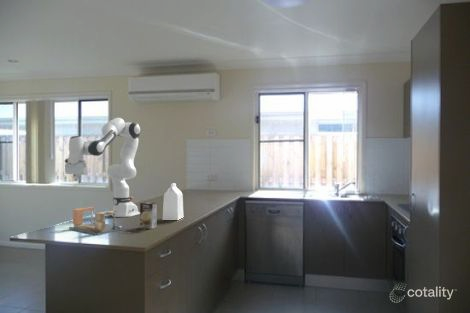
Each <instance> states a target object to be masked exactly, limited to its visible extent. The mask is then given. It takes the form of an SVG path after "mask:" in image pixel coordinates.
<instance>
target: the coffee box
mask: <svg viewBox="0 0 470 313" xmlns="http://www.w3.org/2000/svg"><path fill="white" fill-rule="evenodd" d="M139 204H140V205H139V212H140V214H139V228H141V229H149V230H150V229H155V228H157V223H158V222H157V217H158V216H157V213H158V212H157V211H158V209H157V208H158V207H157V206H158V203H157V202H151V201H143V202H140V203H139Z"/></svg>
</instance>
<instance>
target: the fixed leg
mask: <svg viewBox="0 0 470 313" xmlns="http://www.w3.org/2000/svg"><path fill="white" fill-rule="evenodd" d="M115 213H116V211H113V210H111V211H110V210H109V211H104V212H96V213H95V214H94V221H95V227H92V226H87V225H85V224H79V225H75V224H73V227H77V228H82V229H87V230H92V231H97V232H104V229H105V224H106V216H108V215H112V214H113V216H112V219H113V220H112V225H113V228H115V226H116V217H115Z"/></svg>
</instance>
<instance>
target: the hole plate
mask: <svg viewBox="0 0 470 313" xmlns="http://www.w3.org/2000/svg"><path fill="white" fill-rule="evenodd" d="M84 225H87V226H92V227H95V220H93V223H91V222H90V223H86V224H84ZM68 230H71V231H76V232H80V233H84V234H89V235H95V236H101V235H104V234H109V233H115V232H119V231H123V230H126V227H125V226H122V225H115V228H113V224H109V223H105V229H104V232H97V231H92V230H87V229H82V228H77V227H74V226H70V227H68Z"/></svg>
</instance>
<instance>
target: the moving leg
mask: <svg viewBox="0 0 470 313" xmlns="http://www.w3.org/2000/svg"><path fill="white" fill-rule="evenodd" d="M93 210H95V206H90V207H84V208H75V209H72V225H74V224H75V225H79V224H82V225H84V224H83V223H84V217H83V216H84V215H83V214H84V212H86V211H90V216H91V217H90V223H94V212H93Z"/></svg>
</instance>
